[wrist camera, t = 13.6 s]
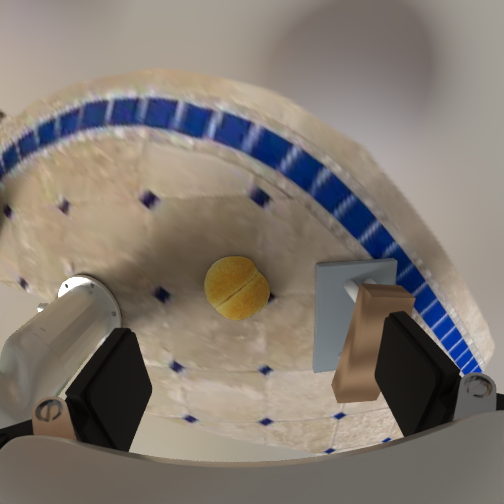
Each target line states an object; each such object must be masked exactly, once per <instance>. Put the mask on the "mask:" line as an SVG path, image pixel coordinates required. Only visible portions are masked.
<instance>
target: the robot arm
mask: <svg viewBox="0 0 504 504" xmlns="http://www.w3.org/2000/svg"><path fill="white" fill-rule="evenodd" d="M38 311H39V313H38V314H36V315H35V316H34V317H33V318H32V319H30V320H29V321H28V322H26V323H25V324H24V325H23V326H21V327H20V328H19V329H18V330H16V331H15V332H14V333H13V334H12V335H11V336H10V337H9V338H8V339H7V341H6V342H5V344H4V346H3V349H2V352H1V357H0V504H504V394H499V393H496V385H495V383H494V381H493V380H492V379H491V378H490V377H489V376H487V375H485V374H482V373H469V374H467V375H465V376H464V377H463V378H462V377H461V376H460V375H459V373H460V371H461V370H460V369H459V368H458V367H457V366H456V365H455V364H454V362H453V361H452V360H451V359H450V358H449V357H448V356H447V355H446V354H445V353H444V351H443V350H442V349H441V348H440V347H439V346H438V345H437V344H436V343H435V342H434V341H433V340H432V339H431V338H430V336H429V335H428V334H427V333H426V332H425V331H424V330H423V329H422V328H421V327H420V326H419V325H418V324H417V323H416V322H415V321H414V320H413V319H412V318H411V317H410V316H409V315H408V314H407V313H406V312H405V311H398V312H392V313H390V314H389V315H388V317H386V318H385V320H384V326H383V332H382V337H381V343H380V348H379V353H378V358H377V363H376V368H375V373H374V376H375V381H376V383H377V385H378V387H379V388H380V390H381V392H382V394H383V396H384V398H385V400H386V402H387V404H388V406H389V408H390V410H391V412H392V414H393V416H394V418H395V419H396V421H397V423H398V425H399V427H400V430H401V432H402V434H403V436H404V437H403V438H400V439H396V440H393V441H389V442H385V443H382V444H378V445H374V446H370V447H366V448H361V449H357V450H352V451H347V452H341V453H336V454H330V455H323V456H317V457H309V458H301V459H291V460H281V461H264V462H206V461H191V460H179V459H169V458H161V457H154V456H148V455H141V454H136V453H130V452H129V449H130V446H131V444H132V441H133V439H134V436H135V434H136V431H137V428H138V426H139V423H140V421H141V418H142V416H143V413H144V411H145V409H146V406H147V404H148V401H149V399H150V396H151V394H152V385H151V382H150V379H149V376H148V373H147V370H146V367H145V364H144V361H143V357H142V354H141V351H140V347H139V344H138V341H137V337H136V334H135V333H134V332H132V331H131V330H130V329H129V328H121V324H122V320H121V313H120V309H119V306H118V304H117V302H116V300H115V298H114V296H113V295H112V294H111V292H110V291H109V290H108V289H107V288H106V287H105V286H104V285H103V284H102V283H101V282H99V281H98V280H96V279H94V278H92V277H90V276H86V275H75V276H72V277H70V278H69V279H67V280H66V281H65V282H64V283H63V284H62V285H61V287H60V290H59V294H58V298H57V299H56V300H55V301H53V302H51V303H50V304H47V303H40V304H39V306H38ZM97 345H101V346H100V347H99V348H98V350H97V351H96V352H95V353H94V355H93V356H92V357H91V359H90V360H89V361H88V363H87V364H86V365H85V366H84V368H83V369H82V370H81V372H80V373H79V374H78V376H77V377H76V379H75V380H74V381H73V382H72V384H71V385H70V387H69V388H68V389H67V391H66V392H65V394H66V395H67V398H66V399H65V401H64V400H63V399H62V398H60V397H58V396H59V394H60V393H61V391H62V390H63V389H64V388H65V386H66V385H67V384H68V382H69V381H70V380H71V378H72V377H73V376H74V374H75V373H76V372H77V370H78V369H79V368H80V366H81V365H82V364H83V362H84V361H85V360H86V359H87V358H88V356H89V355H90V354H91V353H92V351H93V350H94V349H95V348H96V346H97Z"/></svg>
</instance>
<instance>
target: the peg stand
mask: <svg viewBox="0 0 504 504" xmlns="http://www.w3.org/2000/svg"><path fill="white" fill-rule="evenodd" d="M396 272H397V260H395V259H394V258H385V259H373V260H360V261H346V262H333V263H318V264H316V300H315V330H314V350H313V367H312V368H313V371H314V373H319V372H327V371H334V370H336V369H337V366H338V363H339V360H340V357H341V353H342V350H343V347H344V343H345V340H346V336H347V333H348V329H349V326H350V322H351V318H352V314H353V310H354V306H355V302H356V298H357V294H358V290H359V286H360V283H367V284H383V285H395V281H396Z"/></svg>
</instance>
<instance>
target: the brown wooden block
mask: <svg viewBox="0 0 504 504" xmlns="http://www.w3.org/2000/svg"><path fill="white" fill-rule="evenodd" d="M415 299H416V298H415V297H414V296H413V295H411V294H410V293H409V292H408V291H407V290H405V289H404V288H403V287H402V286H400V285H383V284H367V283H360V286H359V290H358V294H357V298H356V302H355V306H354V310H353V314H352V318H351V322H350V326H349V329H348V333H347V336H346V340H345V343H344V347H343V350H342V353H341V357H340V360H339V363H338V366H337V369H336V372H335V375H334V378H333V381H332V384H331V385H332V388H333V391H334V394H335V397H336V400H337V403H351V402H363V401H374V400H377V398H378V396H379V394H380V392H381V390H380V388H379V387H378V385H377V383H376V381H375V376H374V373H375V368H376V363H377V358H378V353H379V348H380V343H381V337H382V332H383V326H384V320H385V318H386V317H388V315H389V314H390V313H392V312H398V311H405V312H406V313H407V314H408V315H409V316H410V315H411V312H412V309H413V305H414V302H415Z"/></svg>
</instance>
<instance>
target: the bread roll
mask: <svg viewBox="0 0 504 504" xmlns="http://www.w3.org/2000/svg"><path fill="white" fill-rule="evenodd" d="M204 290H205V294H206V298H207V300H208V301H209V303H210V304H211V305H212V306H213V307H214V308H215V309H216V310H217V311H218V312H219V313H220V314H221V315H223V316H224V317H226V318H228V319H231V320H242V319H245V318H249V317H251V316H253V315H255V314H256V313H258V312H259V311H261V310H262V309H264V308H265V307H266V306H267V304H268V299H269V296H270V288H269V285H268V282H267V280H266V279H265V278H264V277H263V275H262V274H260V273H259V271H258V270H257V269H256V266H255V264H254V263H253V262H252V261H251V260H250V259H248V258H246V257H241V256H230V257H224V258H221V259H219V260H217V261H216V262H215V263H214V264H213V265H212V266H211V267H210V269H209V270H208V272H207V274H206V277H205V281H204Z"/></svg>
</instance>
